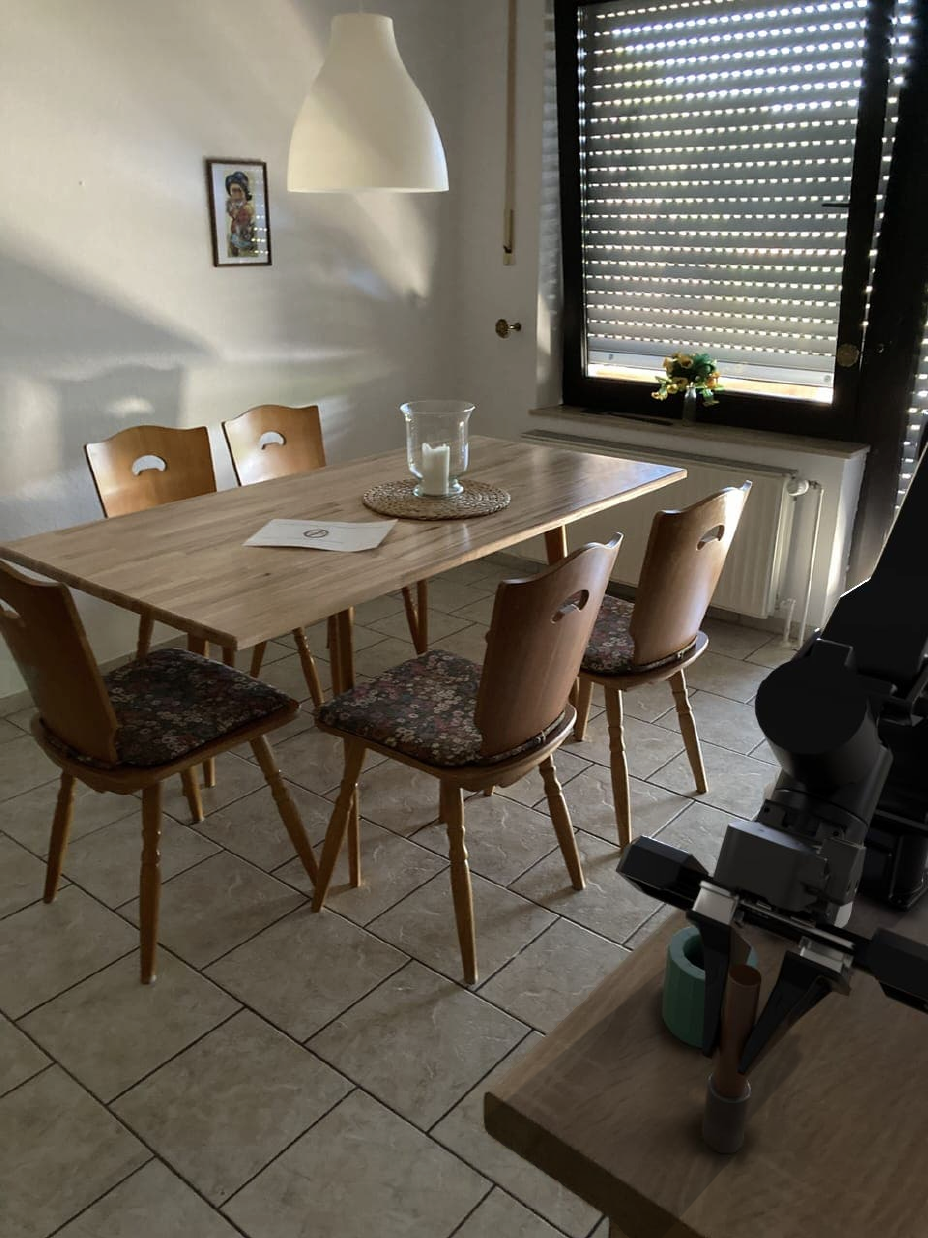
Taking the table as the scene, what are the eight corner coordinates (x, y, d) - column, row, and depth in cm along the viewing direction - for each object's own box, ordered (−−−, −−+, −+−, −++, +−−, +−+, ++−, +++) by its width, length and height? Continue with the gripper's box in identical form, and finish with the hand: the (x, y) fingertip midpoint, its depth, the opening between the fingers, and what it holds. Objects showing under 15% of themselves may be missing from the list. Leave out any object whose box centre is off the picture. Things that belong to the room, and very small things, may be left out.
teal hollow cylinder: (692, 977, 74) (700, 913, 72) (764, 1019, 70) (773, 953, 68) (645, 1017, 70) (651, 952, 68) (717, 1064, 66) (726, 996, 64)
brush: (715, 1113, 63) (737, 954, 58) (750, 1137, 61) (775, 975, 56) (693, 1136, 61) (714, 974, 56) (728, 1161, 59) (752, 997, 55)
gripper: (641, 716, 60) (531, 969, 56) (984, 825, 50) (879, 1145, 46) (688, 778, 69) (596, 1001, 65) (988, 882, 59) (901, 1155, 55)
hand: (723, 1066), depth 57 cm, fingers closed on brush, 2 cm apart
